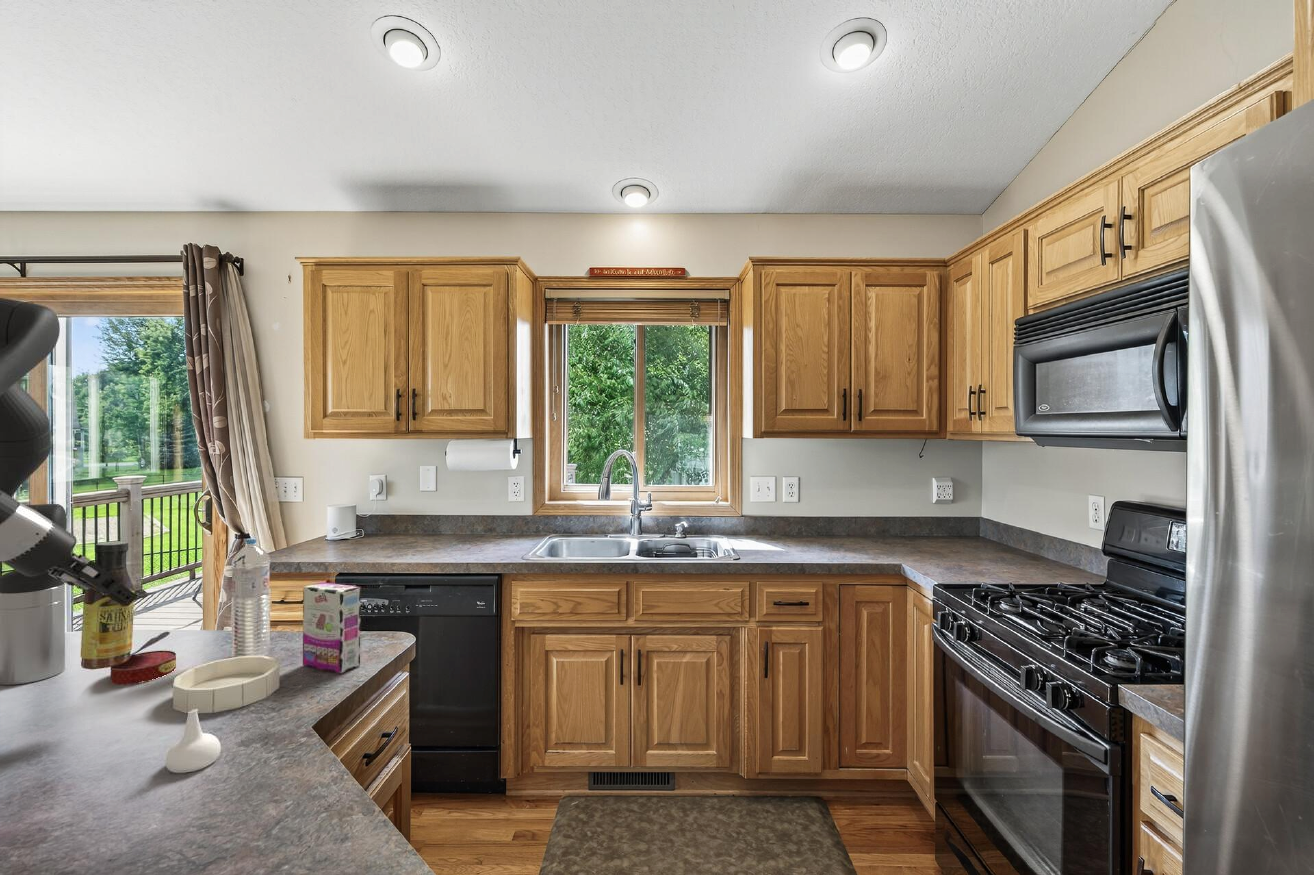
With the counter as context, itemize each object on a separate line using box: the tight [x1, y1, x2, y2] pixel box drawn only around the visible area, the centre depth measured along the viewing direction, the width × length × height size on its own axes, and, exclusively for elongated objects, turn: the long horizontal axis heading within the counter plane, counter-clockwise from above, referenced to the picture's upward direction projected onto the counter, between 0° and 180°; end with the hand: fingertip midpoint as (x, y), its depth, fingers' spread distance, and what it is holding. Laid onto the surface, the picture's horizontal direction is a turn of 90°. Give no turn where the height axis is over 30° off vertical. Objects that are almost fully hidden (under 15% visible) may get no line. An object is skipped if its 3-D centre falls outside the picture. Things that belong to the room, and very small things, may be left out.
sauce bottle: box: [80, 540, 136, 671], centre depth 99 cm, size 6×6×20 cm
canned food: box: [110, 631, 177, 685], centre depth 119 cm, size 11×10×10 cm
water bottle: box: [230, 538, 271, 658], centre depth 128 cm, size 7×7×25 cm
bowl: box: [172, 655, 280, 714], centre depth 110 cm, size 16×16×4 cm
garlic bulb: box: [165, 709, 222, 774], centre depth 88 cm, size 6×6×8 cm
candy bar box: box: [302, 581, 362, 674], centre depth 124 cm, size 11×5×16 cm, turn 68°
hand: (120, 598), depth 101 cm, fingers closed on sauce bottle, 6 cm apart
